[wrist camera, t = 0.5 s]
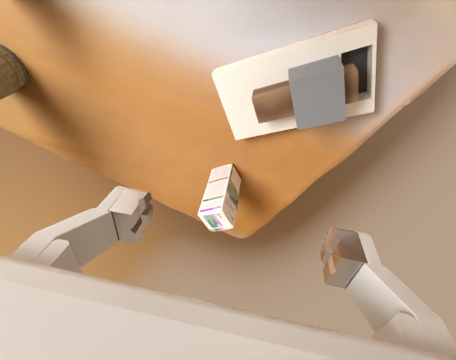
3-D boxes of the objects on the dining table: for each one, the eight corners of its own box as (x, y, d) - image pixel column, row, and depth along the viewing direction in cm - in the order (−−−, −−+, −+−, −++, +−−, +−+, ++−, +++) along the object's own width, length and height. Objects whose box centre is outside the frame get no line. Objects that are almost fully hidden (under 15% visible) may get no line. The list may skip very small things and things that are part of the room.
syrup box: (211, 168, 58) (195, 215, 48) (233, 162, 56) (221, 210, 45) (221, 185, 61) (209, 233, 51) (243, 180, 59) (234, 229, 48)
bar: (253, 89, 41) (251, 98, 38) (352, 62, 36) (358, 70, 33) (260, 113, 43) (258, 123, 41) (353, 91, 38) (358, 101, 36)
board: (215, 68, 42) (203, 87, 36) (371, 18, 34) (390, 31, 28) (237, 132, 50) (231, 155, 44) (369, 103, 42) (383, 128, 36)
